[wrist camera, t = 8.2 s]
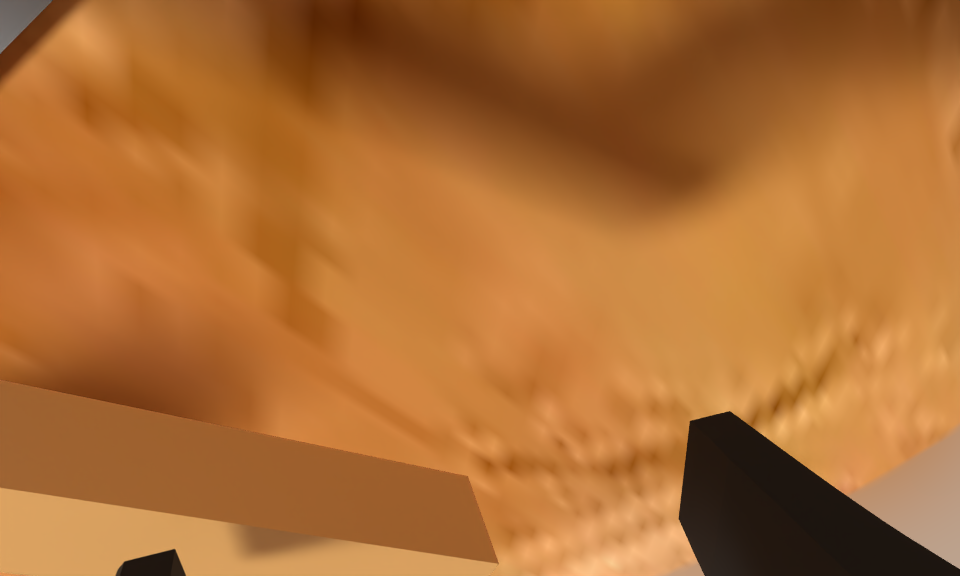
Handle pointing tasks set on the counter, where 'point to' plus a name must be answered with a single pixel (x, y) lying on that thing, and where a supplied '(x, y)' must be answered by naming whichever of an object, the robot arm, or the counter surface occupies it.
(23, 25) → the socket block
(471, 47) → the counter surface
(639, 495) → the counter surface
